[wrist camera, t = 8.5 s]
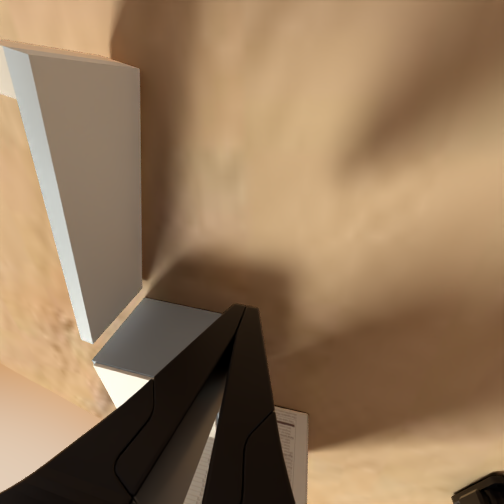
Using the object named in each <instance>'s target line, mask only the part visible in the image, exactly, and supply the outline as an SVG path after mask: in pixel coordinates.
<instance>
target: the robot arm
mask: <svg viewBox="0 0 504 504" xmlns="http://www.w3.org/2000/svg"><path fill="white" fill-rule="evenodd" d="M220 406H221V408H220ZM219 409H220V413H219V418H218V423H217V428H216V433H215V438H214V443H213V448H212V453H211V458H210V463H209V468H208V473H207V479H206V484H205V489H204V494H203V499H202V504H296V503H295V499H294V495H293V492H292V488H291V484H290V480H289V476H288V472H287V468H286V464H285V460H284V456H283V451H282V446H281V441H280V435H279V430H278V424H277V418H276V413H275V406H274V400H273V394H272V388H271V381H270V375H269V369H268V363H267V356H266V350H265V344H264V338H263V331H262V325H261V319H260V313H259V309H258V308H257V307H252V306H247V307H246V305H243V304H238V303H235V304H233V305H232V306H231V307H230V308H229V309H228V310H226V311H225V312H224V313H223V314H222V315H221V316H220V317H219V318H218V319H217V320H215V321H214V322H213V323H212V324H211V325H210V326H209V327H208V328H207V329H206V330H204V331H203V332H202V333H201V334H200V335H199V336H198V337H197V338H196V339H195V340H193V341H192V342H191V343H190V344H189V345H188V346H187V347H186V348H185V349H184V350H182V351H181V352H180V353H179V354H178V355H177V356H176V357H175V358H174V359H173V360H171V361H170V362H169V363H168V364H167V365H166V366H165V367H164V368H163V369H162V370H160V371H159V372H158V373H157V374H156V375H155V376H154V379H150V380H149V381H148V382H147V383H146V384H145V385H144V386H143V387H142V388H141V389H139V390H138V391H137V392H136V393H135V394H134V395H132V396H131V397H130V398H129V399H128V400H127V401H126V402H124V403H123V404H122V405H121V406H120V407H118V408H117V409H116V410H115V411H113V412H112V413H111V414H109V415H108V416H107V417H106V418H104V419H103V420H102V421H101V422H100V423H98V424H97V425H95V426H94V427H93V428H91V429H90V430H89V431H88V432H86V433H85V434H84V435H82V436H81V437H80V438H78V439H77V440H76V441H75V442H73V443H72V444H71V445H69V446H68V447H67V448H65V449H64V450H63V451H61V452H60V453H59V454H57V455H56V456H55V457H53V458H52V459H51V460H50V461H48V462H47V463H46V464H44V465H43V466H42V467H40V468H39V469H37V470H36V471H35V472H33V473H32V474H30V475H29V476H27V477H26V478H25V479H23V480H21V481H20V482H18V483H16V484H15V485H13V486H12V487H10V488H8V489H6V490H4V491H3V492H1V493H0V504H183V503H184V500H185V498H186V495H187V493H188V490H189V487H190V485H191V482H192V479H193V477H194V474H195V472H196V469H197V466H198V464H199V461H200V458H201V456H202V453H203V451H204V448H205V445H206V443H207V440H208V437H209V435H210V432H211V430H212V427H213V424H214V422H215V419H216V416H217V414H218V411H219ZM451 498H452V501H453V504H504V477H502V476H490V477H488V478H486V479H484V480H483V481H481V482H479V483H477V484H475V485H473V486H471V487H469V488H467V489H465V490H463V491H461V492H459V493H458V494H456V495H454V496H452V497H451Z"/></svg>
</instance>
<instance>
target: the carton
mask: <svg viewBox="0 0 504 504" xmlns="http://www.w3.org/2000/svg"><path fill="white" fill-rule="evenodd" d="M221 315H222V314H220V313H216V312H211V311H206V310H201V309H197V308H192V307H187V306H182V305H178V304H173V303H168V302H163V301H159V300H154V299H149V298H144V299H143V300H142V301H141V302H140V303H139V305H138V306H137V307H136V308H135V309H134V311H133V312H132V313H131V314H130V315H129V317H128V318H127V319H126V320H125V321H124V323H123V324H122V325H121V326H120V327H119V329H118V330H117V331H116V332H115V333H114V335H113V336H112V337H111V338H110V339H109V341H108V342H107V343H106V344H105V345H104V346H103V348H102V349H101V350H100V351H99V352H98V354H97V355H96V356H95V357H94V358H93V360H92V361H93V363H94V365H93V366H94V368H95V370H96V371H97V373H98V375H99V377H100V379H101V381H102V382H103V384H104V386H105V388H106V390H107V391H108V393H109V395H110V397H111V399H112V400H113V402H114V404H115V406H116V408H118V407H120V406H121V405H122V404H123V403H124V402H126V401H127V400H128V399H129V398H130V397H131V396H132V395H134V394H135V393H136V392H137V391H138V390H139V389H141V388H142V387H143V386H144V385H145V384H146V383H147V382H148V381H149V380H150V379H154V376H155V375H156V374H157V373H158V372H159V371H160V370H162V369H163V368H164V367H165V366H166V365H167V364H168V363H169V362H170V361H171V360H173V359H174V358H175V357H176V356H177V355H178V354H179V353H180V352H181V351H182V350H184V349H185V348H186V347H187V346H188V345H189V344H190V343H191V342H192V341H193V340H195V339H196V338H197V337H198V336H199V335H200V334H201V333H202V332H203V331H204V330H206V329H207V328H208V327H209V326H210V325H211V324H212V323H213V322H214V321H215V320H217V319H218V318H219V317H220V316H221ZM220 408H221V406H220ZM219 413H220V409H219V411H218V414H217V416H216V419H215V422H214V424H213V427H212V430H211V432H210V435H209V437H212V438H215V433H216V428H217V423H218V418H219Z"/></svg>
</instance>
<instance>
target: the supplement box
mask: <svg viewBox="0 0 504 504" xmlns="http://www.w3.org/2000/svg"><path fill="white" fill-rule="evenodd" d="M275 413H276V418H277V424H278V430H279V435H280V441H281V446H282V451H283V456H284V460H285V464H286V468H287V472H288V476H289V480H290V484H291V488H292V492H293V495H294V499H295V503H296V504H307V473H308V418H309V416H308V414H307V413H302V412H298V411H293V410H289V409H285V408H281V407H277V406H275ZM213 443H214V438H212V437H208V440H207V443H206V445H205V448H204V451H203V453H202V456H201V458H200V461H199V464H198V466H197V469H196V472H195V474H194V477H193V479H192V482H191V485H190V487H189V490H188V493H187V495H186V498H185V500H184V503H183V504H202V499H203V494H204V489H205V484H206V479H207V473H208V468H209V463H210V458H211V453H212V448H213Z"/></svg>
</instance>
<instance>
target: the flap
mask: <svg viewBox="0 0 504 504" xmlns="http://www.w3.org/2000/svg"><path fill="white" fill-rule="evenodd" d="M0 94H2V95H5V96H8V97H11V98H14V99H17V102H18V106H19V110H20V113H21V117H22V121H23V124H24V128H25V132H26V136H27V139H28V143H29V147H30V151H31V154H32V158H33V162H34V165H35V169H36V173H37V177H38V180H39V184H40V188H41V192H42V195H43V199H44V203H45V206H46V210H47V214H48V218H49V221H50V225H51V229H52V233H53V236H54V240H55V244H56V247H57V251H58V255H59V259H60V262H61V266H62V270H63V274H64V277H65V281H66V285H67V288H68V292H69V296H70V300H71V303H72V307H73V311H74V315H75V318H76V322H77V326H78V329H79V333H80V337H81V340H83V341H86V342H89V343H91V344H93V343H94V342H95V341H96V340H97V339H98V338H99V337H100V336H101V334H102V333H103V332H104V331H105V330H106V329H107V328H108V326H109V325H110V324H111V323H112V322H113V321H114V320H115V319H116V317H117V316H118V315H119V314H120V313H121V312H122V311H123V310H124V308H125V307H126V306H127V305H128V304H129V303H130V302H131V300H132V299H133V298H134V297H135V296H136V295H137V294H138V293H139V291H140V290H141V289H142V217H141V124H140V68H136V67H133V66H130V65H127V64H124V63H121V62H118V61H115V60H112V59H109V58H106V57H103V56H100V55H95V54H89V53H83V52H76V51H70V50H64V49H58V48H52V47H46V46H40V45H34V44H28V43H22V42H16V41H10V40H4V39H0Z"/></svg>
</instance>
